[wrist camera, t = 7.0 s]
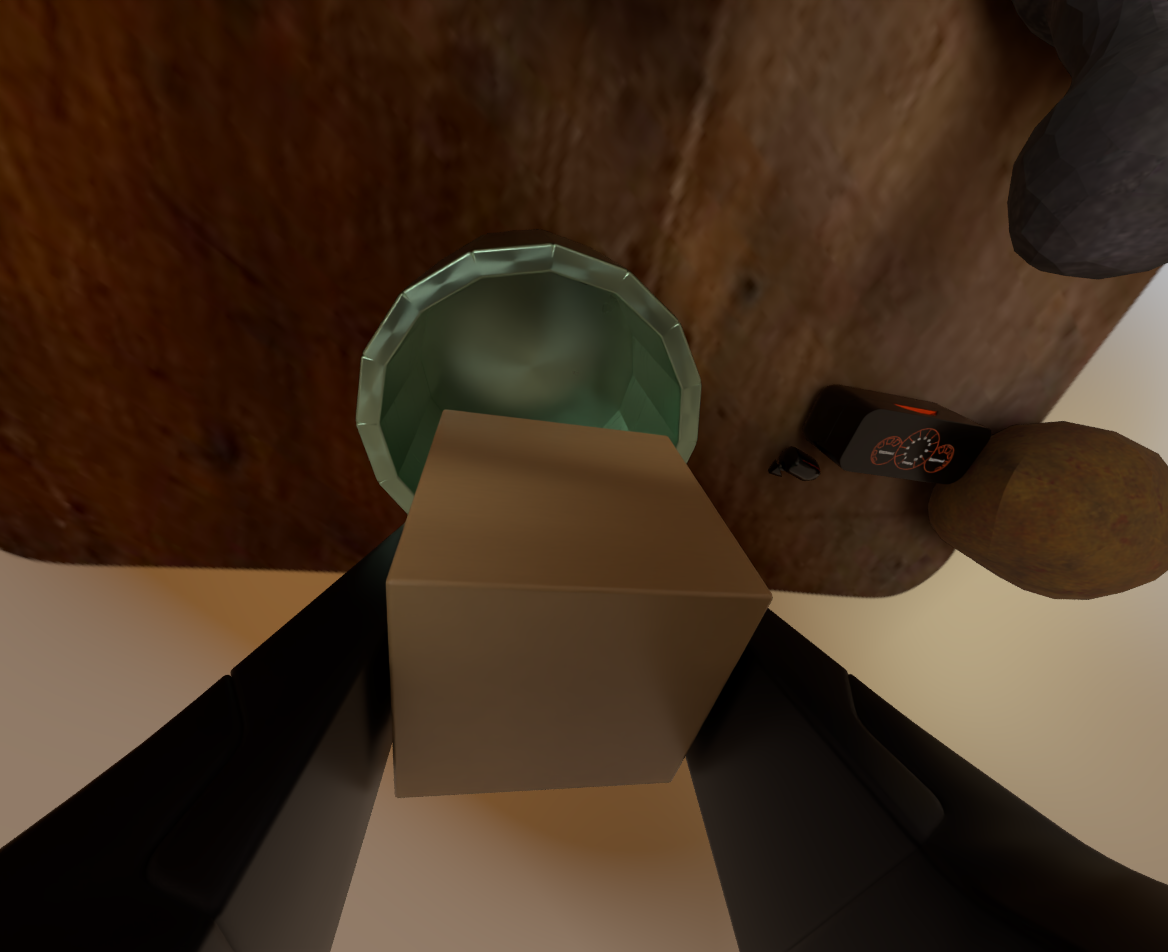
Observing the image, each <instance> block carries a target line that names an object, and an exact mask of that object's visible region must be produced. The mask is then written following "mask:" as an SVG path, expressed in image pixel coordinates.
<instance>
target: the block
mask: <svg viewBox="0 0 1168 952" xmlns="http://www.w3.org/2000/svg"><path fill="white" fill-rule="evenodd" d="M772 598H773V597H772V594H771V592H770V591H769V589H768V588H767V586H766V584H765V583H764V581H763V580H762V578H761V577H760V575H759V574H758V572H757V571H756V569H755V568H754V566H753V565H752V563H751V562H750V560H749V559H748V557H747V556H746V554H745V553H744V551H743V550H742V548H741V547H740V545H739V543H738V542H737V540H736V539H735V537H734V536H733V534H732V533H731V531H730V530H729V528H728V527H727V525H726V524H725V522H724V521H723V519H722V518H721V516H720V515H719V513H718V512H717V510H716V509H715V507H714V506H713V504H712V502H711V501H710V499H709V498H708V496H707V495H706V493H705V492H704V490H703V489H702V487H701V486H700V484H699V483H698V481H697V480H696V478H695V477H694V475H693V474H692V472H691V471H690V469H689V468H688V466H687V465H686V463H685V461H684V460H683V458H682V457H681V455H680V454H679V452H678V451H677V449H676V448H675V446H674V445H673V443H672V442H671V440H670V439H669V437H668V436H665V435H656V434H648V433H640V432H631V431H623V430H614V429H606V428H598V427H589V426H581V425H573V424H564V423H556V422H547V421H539V420H531V419H522V418H514V417H506V416H497V415H489V414H481V413H472V412H464V411H455V410H447V409H446V410H443V412H442V415H441V418H440V421H439V424H438V427H437V430H436V433H435V436H434V439H433V442H432V445H431V448H430V451H429V454H428V457H427V460H426V463H425V466H424V469H423V472H422V475H421V478H420V481H419V484H418V487H417V490H416V493H415V496H414V498H413V501H412V504H411V507H410V510H409V513H408V516H407V519H406V522H405V525H404V528H403V531H402V534H401V537H400V540H399V543H398V546H397V549H396V552H395V555H394V558H393V561H392V564H391V567H390V570H389V573H388V576H387V579H386V601H387V624H388V648H389V671H390V695H391V718H392V742H393V765H394V789H395V797H397V798H405V797H423V796H440V795H457V794H475V793H493V792H510V791H528V790H544V789H545V790H546V789H564V788H581V787H599V786H617V785H635V784H651V783H669V782H671V781H672V779H673V777H674V776H675V774H676V772H677V770H678V768H679V767H680V765H681V763H682V761H683V759H684V758H685V756H686V754H687V752H688V750H689V749H690V747H691V745H692V743H693V741H694V740H695V738H696V736H697V734H698V732H699V731H700V729H701V727H702V725H703V723H704V722H705V720H706V718H707V716H708V714H709V713H710V711H711V709H712V707H713V705H714V704H715V702H716V700H717V698H718V696H719V695H720V693H721V691H722V689H723V687H724V686H725V684H726V682H727V680H728V678H729V677H730V675H731V673H732V671H733V669H734V668H735V666H736V664H737V662H738V660H739V659H740V657H741V655H742V653H743V651H744V650H745V648H746V646H747V644H748V642H749V641H750V639H751V637H752V635H753V633H754V632H755V630H756V628H757V626H758V624H759V623H760V621H761V619H762V617H763V615H764V614H765V612H766V610H767V608H768V606H769V605H770V603H771V601H772Z"/></svg>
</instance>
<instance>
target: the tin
mask: <svg viewBox="0 0 1168 952" xmlns="http://www.w3.org/2000/svg"><path fill="white" fill-rule="evenodd" d="M701 385H702V384H701V378H700V376H699V373H698V370H697V367H696V365H695V362H694V359H693V356H692V354H691V351H690V348H689V345H688V342H687V340H686V337H685V334H684V331H683V329H682V326H681V323H680V322H679V321H678V319H677V318H676V317H675V316H674V315H673V314H672V313H671V312H670V311H669V310H668V309H667V308H666V307H665V306H664V305H663V304H662V303H661V302H660V301H659V300H658V299H657V298H656V297H655V296H654V295H653V294H652V293H651V292H650V291H649V290H648V289H647V288H646V287H645V286H644V285H643V284H642V283H641V282H640V281H639V280H638V279H637V278H636V277H635V276H634V275H633V274H632V273H631V272H630V271H629V270H627V269H626V268H624V267H623V266H621V265H619V264H617V263H616V262H614V261H612V260H611V259H609V258H607V257H606V256H604V255H602V254H601V253H599V252H597V251H595V250H594V249H592V248H590V247H588V246H585V245H583V244H580V243H577V242H574V241H572V240H569V239H567V238H565V237H561V236H558V235H555V234H553V233H550V232H547V231H545V230H539V229H533V230H513V231H506V232H499V233H487V234H486V235H482V236H480V237H479V238H477V239H475V240H474V241H472V242H470V243H469V244H467V245H465V246H463V247H462V248H460V249H459V250H457V251H455V252H454V253H452V254H450V255H449V256H447V257H445V258H444V259H442V260H440V261H439V262H438V263H436V264H435V265H434V266H433V267H431V268H430V269H429V270H428V271H426V272H425V273H424V274H423V275H421V276H420V277H419V278H418V279H416V280H415V281H414V282H412V283H411V284H410V285H409V286H407V287H406V288H405V289H404V290H403V291H402V292H401V293H400V294H399V295H398V297H397V298H396V300H395V302H394V303H393V305H392V306H391V308H390V309H389V311H388V313H387V314H386V316H385V317H384V319H383V321H382V322H381V324H380V325H379V327H378V328H377V330H376V332H375V333H374V335H373V336H372V338H371V340H370V341H369V343H368V344H367V346H366V347H365V349H364V351H363V355H362V356H361V364H360V375H359V386H358V397H357V408H356V422H357V423H356V425H357V428H358V431H359V433H360V436H361V439H362V441H363V444H364V447H365V449H366V452H367V455H368V457H369V460H370V463H371V465H372V468H373V471H374V473H375V476H376V479H377V481H379V484H380V485H381V486H382V487H383V488H384V489H385V491H386V492H387V493H388V494H389V495H390V496H391V497H392V498H393V499H394V500H395V501H396V502H397V503H398V504H399V505H400V506H401V508H402V509H403V510H404V511H405V512H406V513H407V514H408V513H409V510H410V507H411V504H412V501H413V498H414V496H415V493H416V490H417V487H418V484H419V481H420V478H421V475H422V472H423V469H424V466H425V463H426V460H427V457H428V454H429V451H430V448H431V445H432V442H433V439H434V436H435V433H436V430H437V427H438V424H439V421H440V418H441V415H442V412H443V410H446V409H447V410H455V411H464V412H472V413H481V414H489V415H497V416H506V417H514V418H522V419H531V420H539V421H547V422H556V423H564V424H573V425H581V426H589V427H598V428H606V429H614V430H623V431H631V432H640V433H648V434H656V435H665V436H668V437H669V439H670V440H671V442H672V443H673V445H674V446H675V448H676V449H677V451H678V452H679V454H680V455H681V457H682V458H683V460H684V461H685V463H686V464H687V462H688V460H689V458H690V456H691V454H692V452H693V450H694V448H695V446H696V441H697V439H698V426H699V412H700V399H701Z"/></svg>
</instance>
